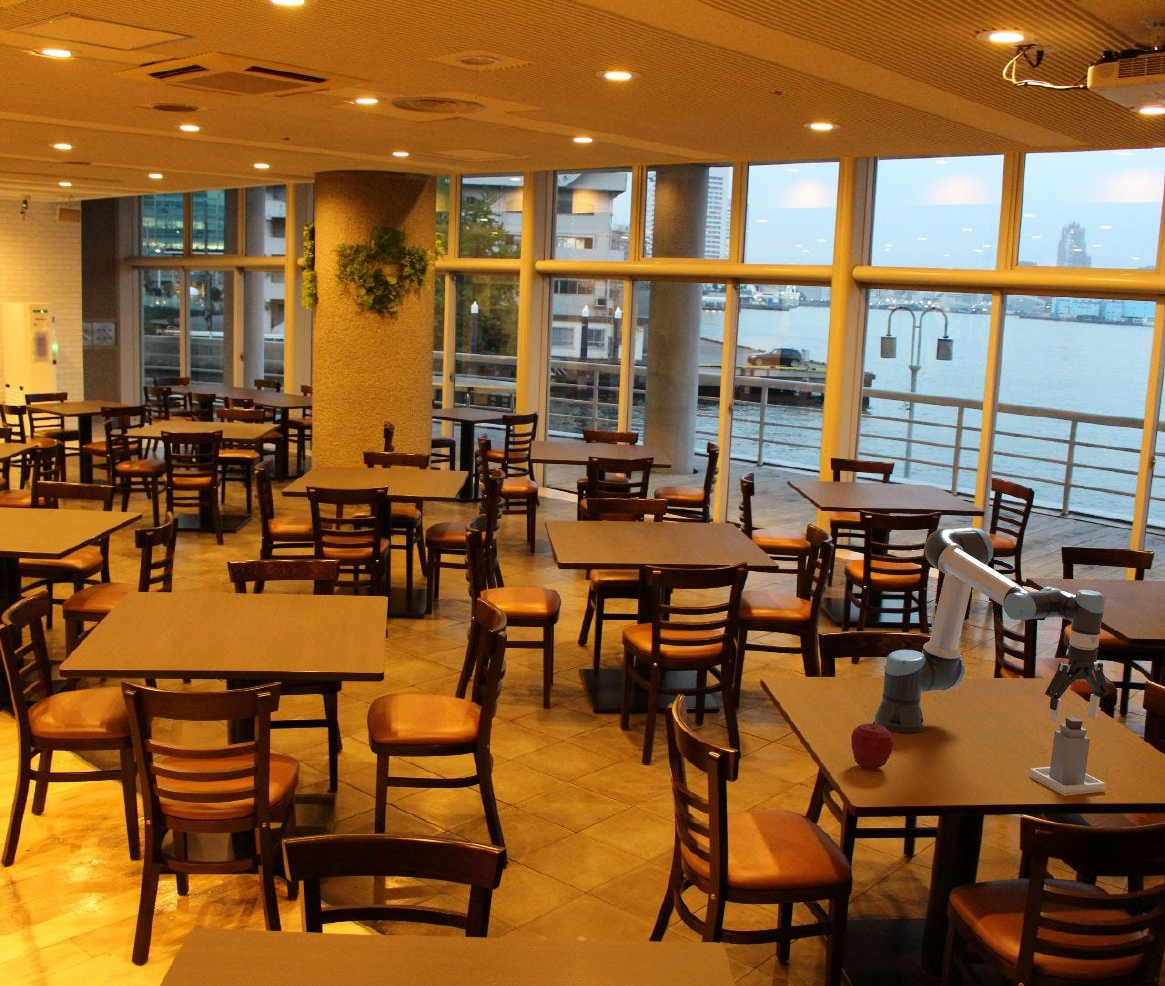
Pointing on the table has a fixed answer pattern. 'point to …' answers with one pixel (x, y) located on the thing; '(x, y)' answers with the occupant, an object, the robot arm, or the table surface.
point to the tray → (1088, 786)
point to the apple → (871, 745)
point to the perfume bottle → (1070, 753)
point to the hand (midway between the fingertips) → (1073, 719)
